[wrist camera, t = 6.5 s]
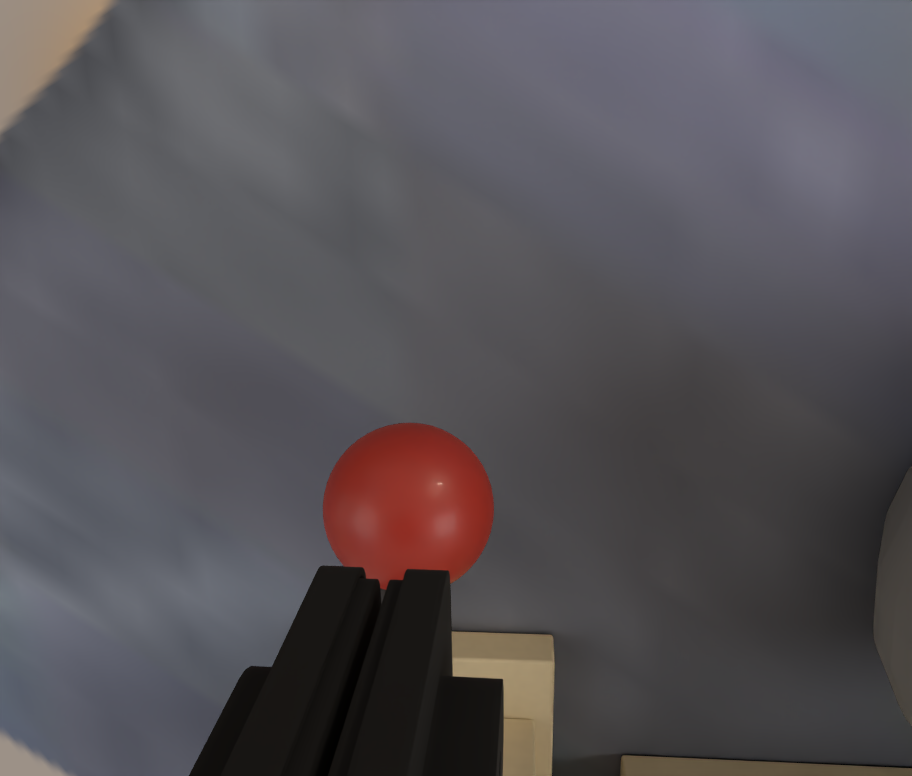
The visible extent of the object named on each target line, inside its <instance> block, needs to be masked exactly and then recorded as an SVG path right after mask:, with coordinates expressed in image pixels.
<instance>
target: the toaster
mask: <svg viewBox="0 0 912 776" xmlns="http://www.w3.org/2000/svg"><path fill="white" fill-rule="evenodd" d="M620 776H912V768H897V767H875V766H852V765H830V764H808V763H786V762H764V761H742V760H720V759H698V758H676V757H654V756H632V755H623V756H622V757H621V769H620Z"/></svg>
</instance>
